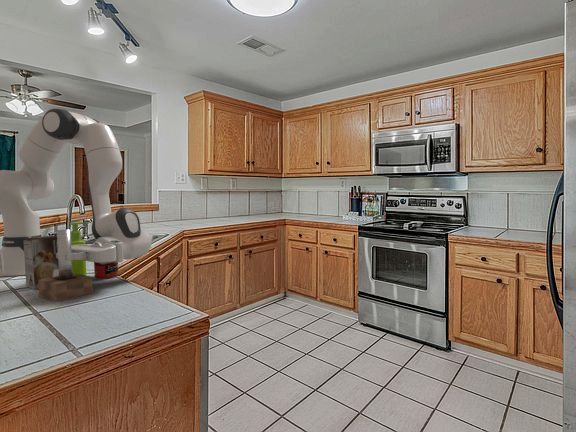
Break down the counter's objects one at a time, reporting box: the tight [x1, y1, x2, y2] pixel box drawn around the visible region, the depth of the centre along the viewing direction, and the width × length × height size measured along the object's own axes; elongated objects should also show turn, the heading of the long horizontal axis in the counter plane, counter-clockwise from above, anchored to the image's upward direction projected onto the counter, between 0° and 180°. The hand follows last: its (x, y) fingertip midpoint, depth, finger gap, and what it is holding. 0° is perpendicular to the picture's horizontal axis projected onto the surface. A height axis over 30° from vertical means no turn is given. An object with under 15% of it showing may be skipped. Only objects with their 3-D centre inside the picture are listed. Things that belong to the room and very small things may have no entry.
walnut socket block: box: [38, 273, 93, 302], centre depth 103 cm, size 10×10×5 cm
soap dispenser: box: [69, 221, 88, 276], centre depth 126 cm, size 6×7×20 cm
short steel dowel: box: [52, 268, 59, 277], centre depth 113 cm, size 3×3×6 cm
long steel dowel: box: [56, 228, 73, 281], centre depth 103 cm, size 3×3×18 cm
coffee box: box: [23, 235, 59, 290], centre depth 114 cm, size 9×6×16 cm
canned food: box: [93, 262, 119, 280], centre depth 126 cm, size 8×8×11 cm
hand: (61, 256), depth 102 cm, fingers closed on long steel dowel, 3 cm apart
